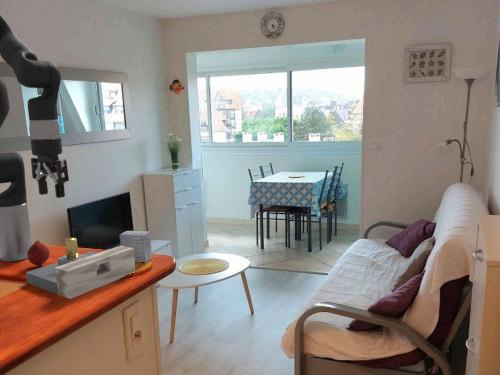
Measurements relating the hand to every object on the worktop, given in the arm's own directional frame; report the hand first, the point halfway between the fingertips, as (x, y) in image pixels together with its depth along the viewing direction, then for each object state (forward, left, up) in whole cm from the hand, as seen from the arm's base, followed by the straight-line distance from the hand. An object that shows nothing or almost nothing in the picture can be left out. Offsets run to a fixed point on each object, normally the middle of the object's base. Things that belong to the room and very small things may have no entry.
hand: (52, 195), depth 117 cm
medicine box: (+13, +17, -22) cm, 31 cm away
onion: (-9, -1, -22) cm, 24 cm away
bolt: (+9, 0, -19) cm, 21 cm away
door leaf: (+8, 0, -22) cm, 23 cm away
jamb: (+18, 0, -22) cm, 28 cm away
